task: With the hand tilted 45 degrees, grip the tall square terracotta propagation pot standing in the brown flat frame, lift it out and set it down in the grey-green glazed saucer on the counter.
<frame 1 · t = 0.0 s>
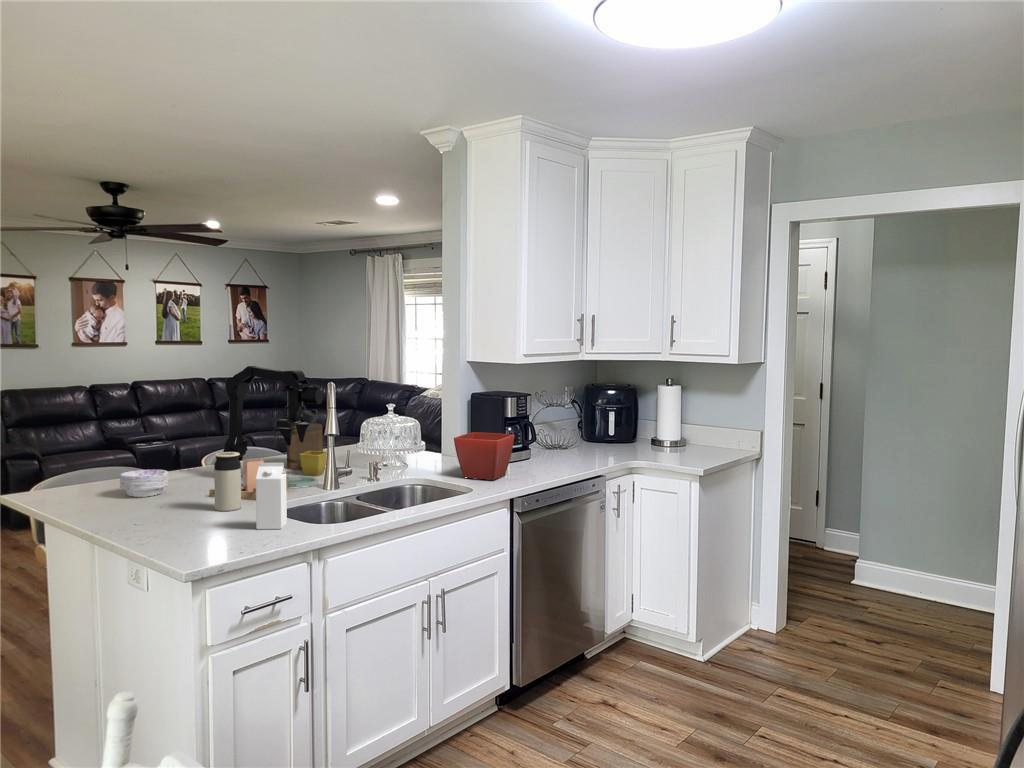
hand: (295, 443, 281), 15 cm above the countertop, tool pointing down, fingers open, 9 cm apart
saucer: (299, 484, 277), on the countertop
paper bowls: (144, 495, 257), on the countertop
wooden container: (305, 467, 313), on the countertop
flower pot: (314, 475, 296), on the countertop
travel mug: (228, 509, 238), on the countertop
milk carton: (271, 527, 217), on the countertop
brown flat frame: (250, 492, 262), on the countertop
plant pot: (484, 477, 295), on the countertop
seed tray: (231, 494, 258), resting in brown flat frame
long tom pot: (253, 493, 260), resting in brown flat frame
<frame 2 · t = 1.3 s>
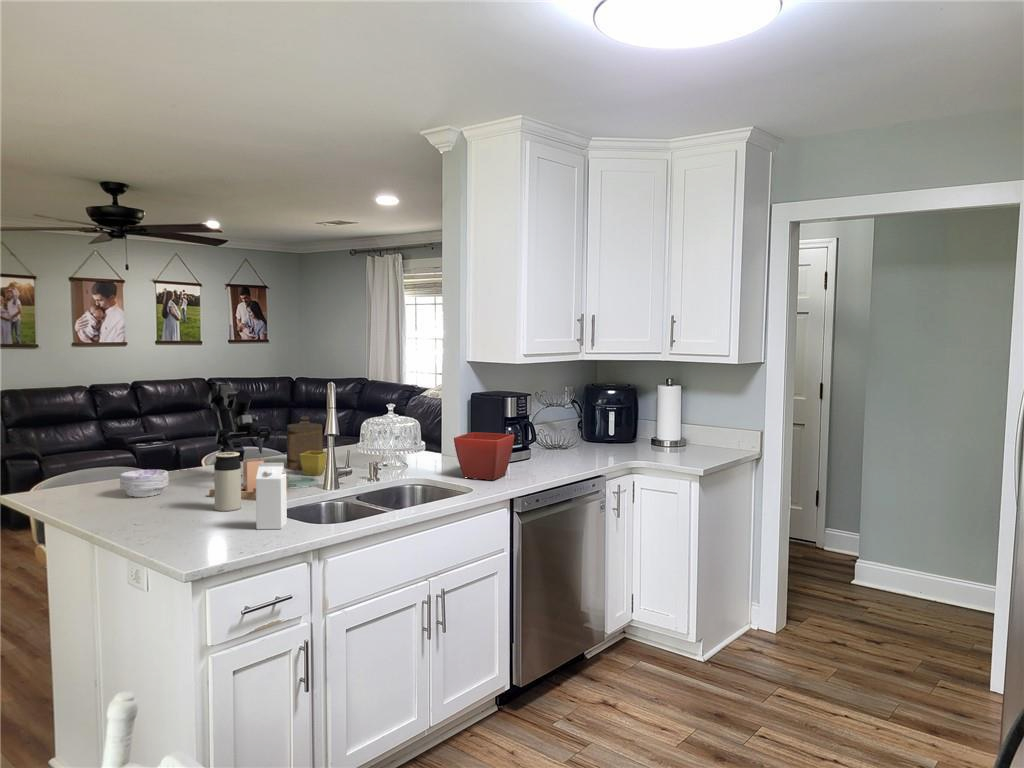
hand: (248, 453, 265), 13 cm above the countertop, tool tilted 45°, fingers open, 9 cm apart
nothing on the countertop moved.
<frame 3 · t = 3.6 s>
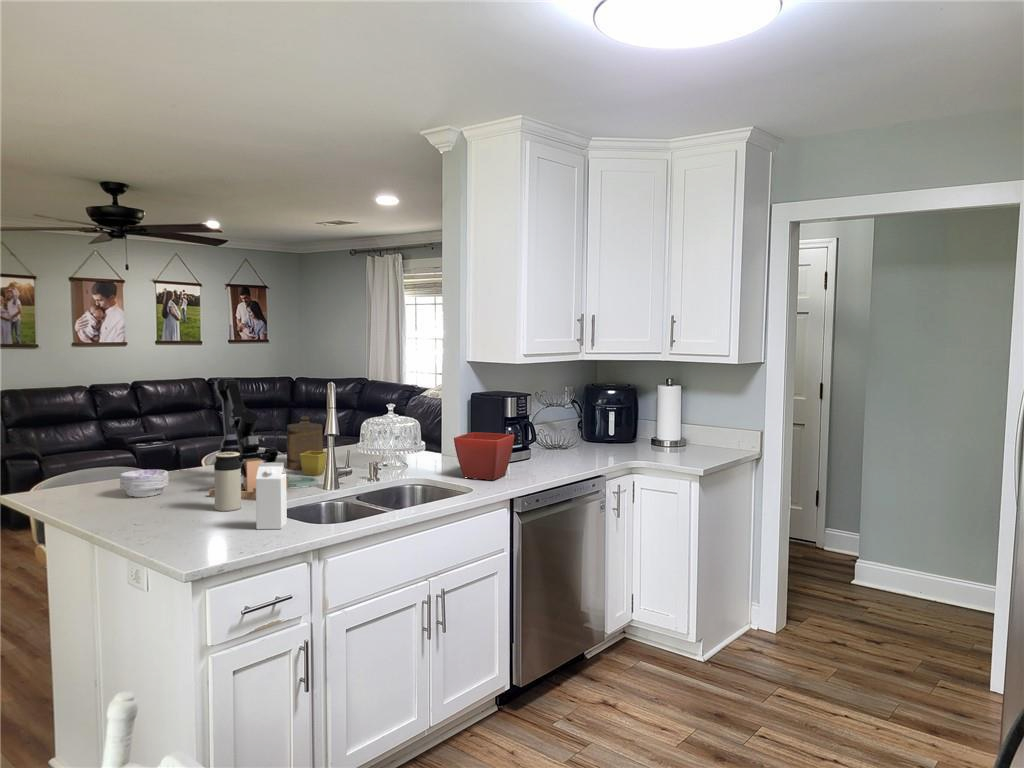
hand: (254, 475, 258), 7 cm above the countertop, tool tilted 45°, fingers closed on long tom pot, 6 cm apart
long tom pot: (253, 493, 260), resting in brown flat frame, touching gripper
everything else where it was.
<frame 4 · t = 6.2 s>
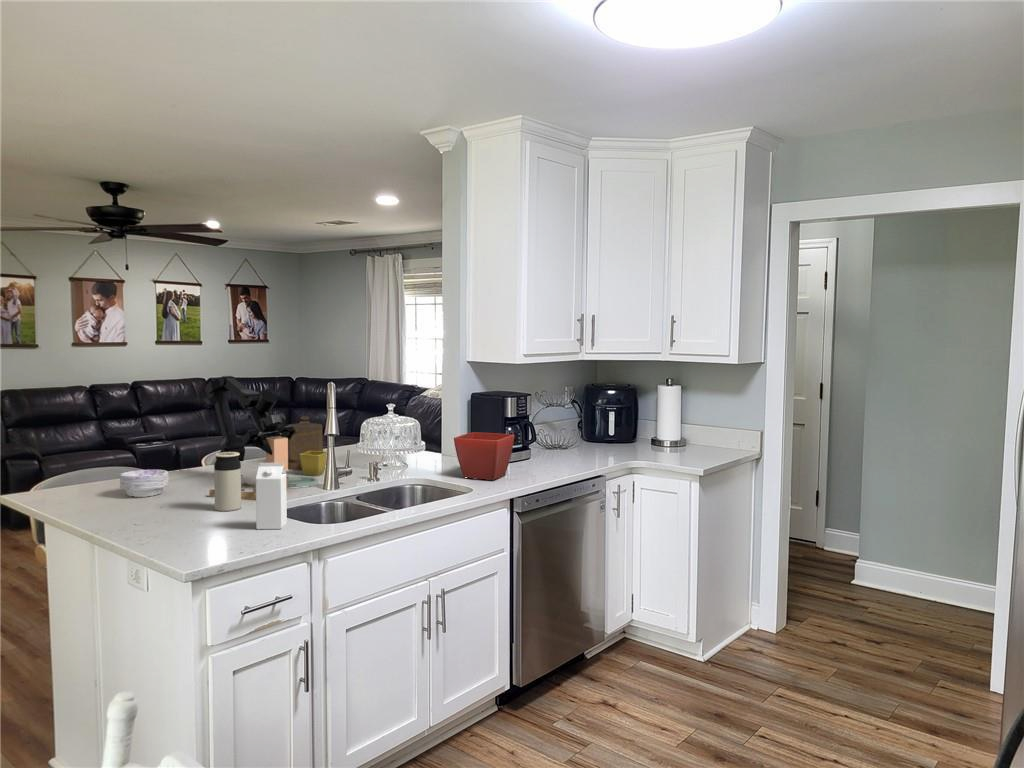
hand: (278, 453, 266), 13 cm above the countertop, tool tilted 45°, fingers closed on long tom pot, 6 cm apart
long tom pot: (276, 470, 267), point 7 cm above the countertop, touching gripper
everything else where it was.
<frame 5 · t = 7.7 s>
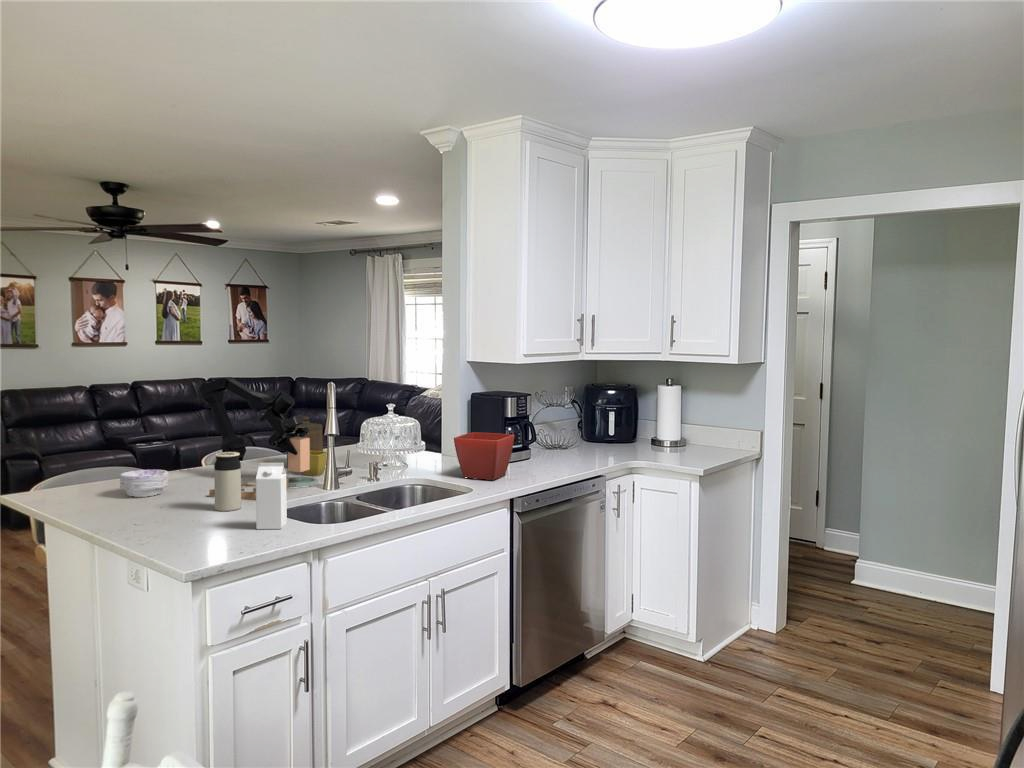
hand: (301, 453, 276), 12 cm above the countertop, tool tilted 45°, fingers closed on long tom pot, 6 cm apart
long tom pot: (298, 470, 277), point 5 cm above the countertop, touching gripper
everything else where it was.
when the fingers open (8 cm above the countertop, at t = 8.9 s): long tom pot stays where it is, resting on saucer.
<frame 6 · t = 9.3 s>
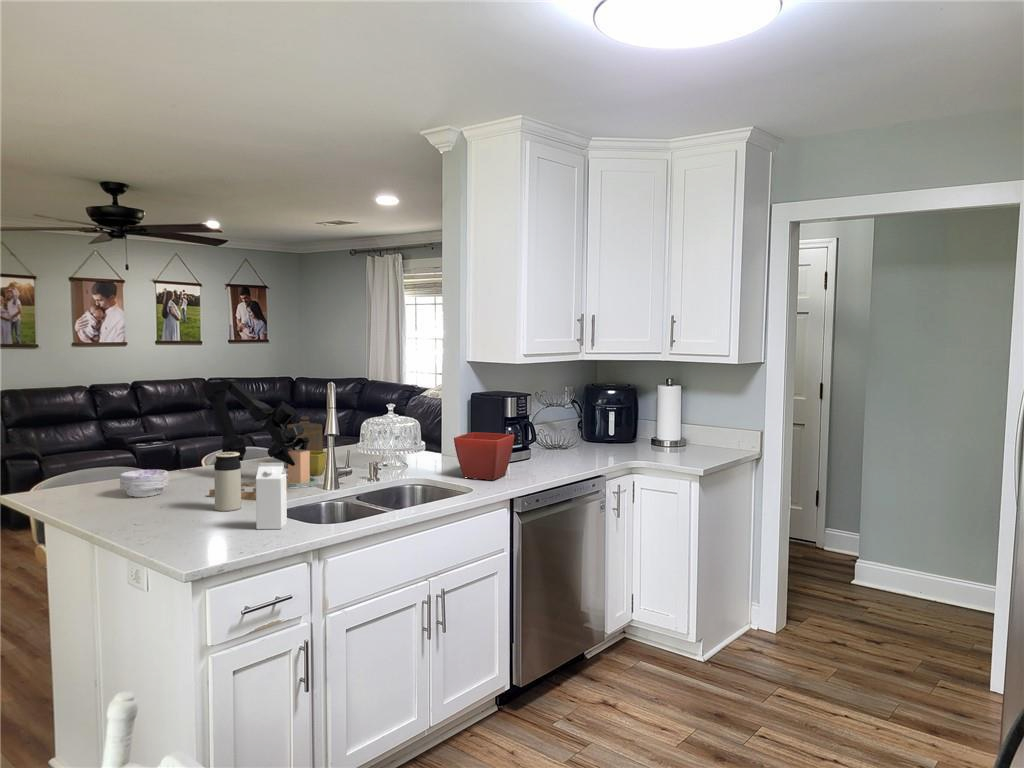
hand: (301, 463, 276), 8 cm above the countertop, tool tilted 45°, fingers open, 9 cm apart
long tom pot: (298, 482, 277), point 1 cm above the countertop, touching saucer
everything else where it was.
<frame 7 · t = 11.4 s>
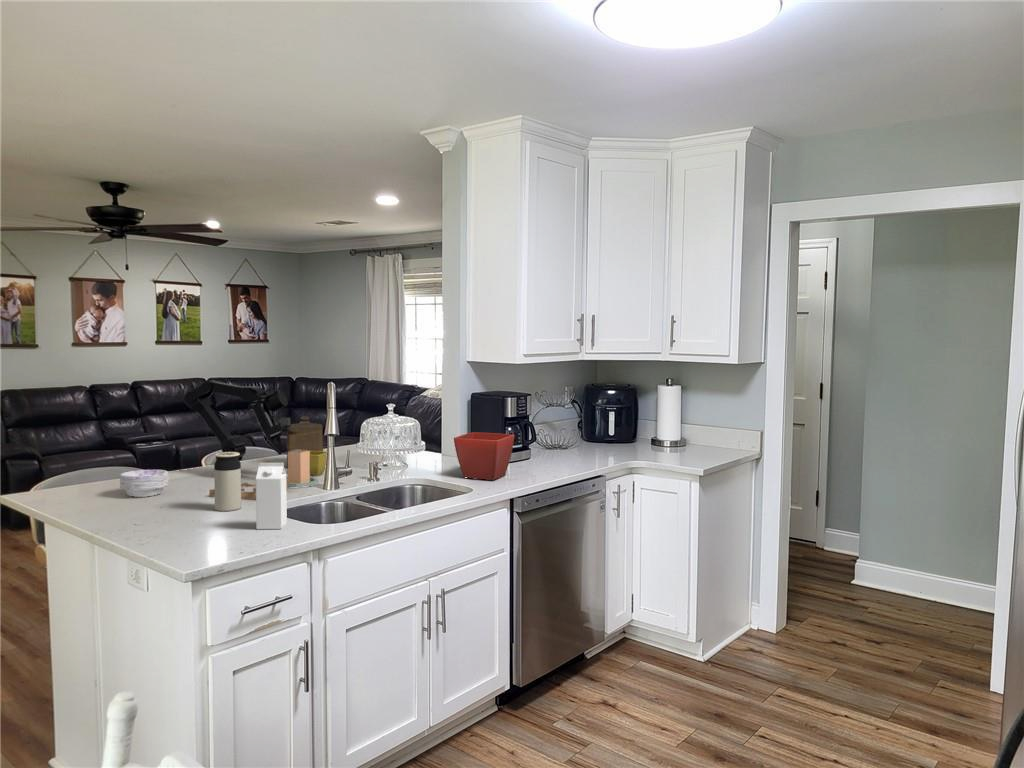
hand: (281, 453, 284), 11 cm above the countertop, tool tilted 25°, fingers open, 9 cm apart
nothing on the countertop moved.
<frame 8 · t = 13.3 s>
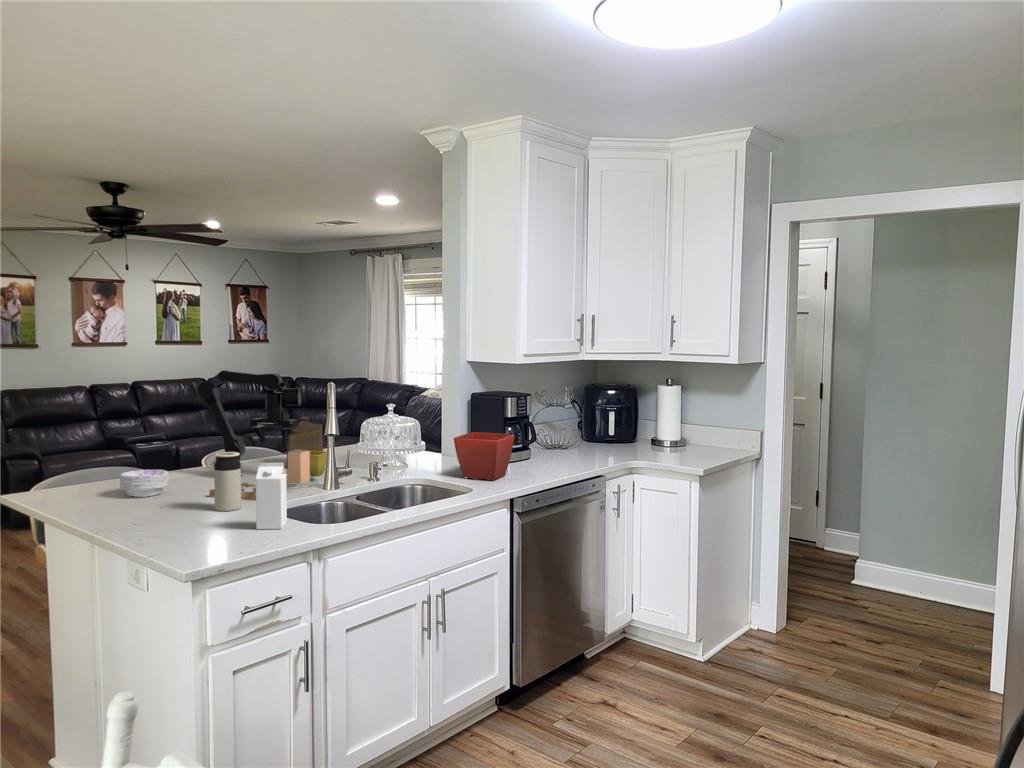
hand: (273, 444, 289), 13 cm above the countertop, tool pointing down, fingers open, 9 cm apart
nothing on the countertop moved.
at the end: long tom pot 0.1 cm from the saucer (horizontally); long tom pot tilted 0°; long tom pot point 0.6 cm above the countertop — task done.
